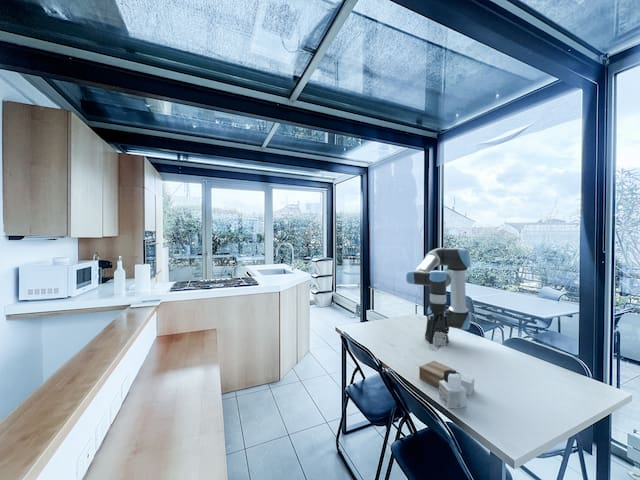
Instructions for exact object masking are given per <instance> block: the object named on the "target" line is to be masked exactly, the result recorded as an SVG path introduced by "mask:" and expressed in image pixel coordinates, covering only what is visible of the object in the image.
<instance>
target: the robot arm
mask: <svg viewBox="0 0 640 480" xmlns="http://www.w3.org/2000/svg"><path fill="white" fill-rule="evenodd" d="M439 266H446V268H447V271H449V273H448V272H446V271H444V270H434V269H435V267H439ZM469 267H471V256H470V252H469V250H468V249H467V248H464V247H463V248H461V247H439V248H434V249H432V250H430V251H429V252H428V253H426V254H425V256H424V260H422V262H421V263H420V264H419V265H418V266H417V267H416V268H415V269H414V270H408V271H407V272H406V275H405V278H406V282H407V283H408V284H410V285H413V286H414V285H418V286H419V285H420V286H427V287H429V306H428V308H427V313H426V314H427V315H426V327H425V329H426V330H425V333H424V339H425V340H427V341H428V349H429V350H430V351H433V352H435V351H436V347H435V337H434V334H435V332H437V331H438V330H439V332H440V333H442V334H443V335H446V336H445V340H446V345H447V343H449V335H448V334H449V332H450V328H451V329H452V328H453V329H457V330H458V329H459V330H464V331H468V330H469V329H470V326H471V320H472V312H470V311H469V308H468V307H467V305H466V303H467V302H466V300H467V299H466V298H467V297H466V295H467V294H466V271H468V269H469ZM449 286H450V306H448V308H447V287H449ZM446 345H445V346H443V347H444V348H446V347H447V346H446Z"/></svg>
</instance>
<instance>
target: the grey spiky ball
mask: <svg viewBox="0 0 640 480" xmlns="http://www.w3.org/2000/svg"><path fill="white" fill-rule="evenodd" d="M445 336H446V335H443V334H442V333H440V332H439V330H438V331H437V332H435V334H434V337H435V348H436V350H439V348H442V347H444V346H445V345H446V347H448V345H447V343H446V340H445Z"/></svg>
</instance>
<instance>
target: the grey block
mask: <svg viewBox="0 0 640 480" xmlns="http://www.w3.org/2000/svg"><path fill="white" fill-rule="evenodd" d="M459 374H460V375H461V385H462V386H463V387H464V388H465V389H466V396H469V397H472V394H473V393H474V392H475V378H474V377H472V376H470V375H466V374H463V373H459Z"/></svg>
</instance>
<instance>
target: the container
mask: <svg viewBox="0 0 640 480" xmlns="http://www.w3.org/2000/svg"><path fill="white" fill-rule="evenodd" d="M460 374H461V373H460V372H458V371H457V370H456V371H453V370H446V371H445V372H444V380H441V381H439V389H438V397H439V399H440V400H441V401H442V402H443V404H445V406H446V407H447V409H463V408H462V407H466V408H467V395H466V389H465V388H464V387H463V386H462V385H461V375H460Z"/></svg>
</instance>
